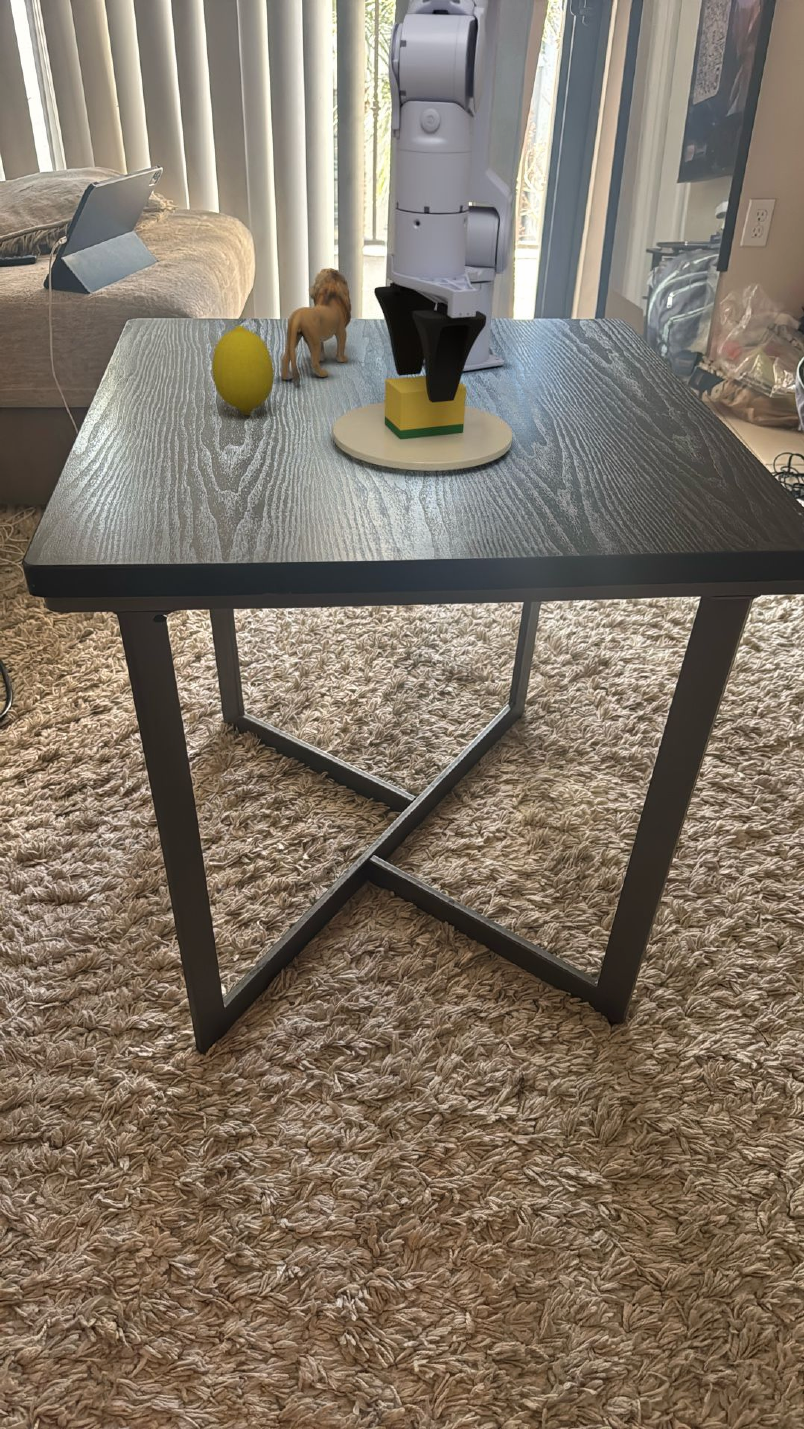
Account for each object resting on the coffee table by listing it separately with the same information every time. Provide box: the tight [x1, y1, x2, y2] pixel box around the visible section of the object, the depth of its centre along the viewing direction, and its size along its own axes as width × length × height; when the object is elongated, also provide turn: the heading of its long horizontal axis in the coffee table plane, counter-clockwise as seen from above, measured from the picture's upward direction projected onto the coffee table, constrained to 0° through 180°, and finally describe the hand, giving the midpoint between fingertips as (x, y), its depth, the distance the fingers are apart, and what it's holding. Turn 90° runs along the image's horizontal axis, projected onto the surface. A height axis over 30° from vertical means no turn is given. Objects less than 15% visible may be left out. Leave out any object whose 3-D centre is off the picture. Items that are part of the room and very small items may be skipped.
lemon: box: [212, 325, 274, 416], centre depth 84 cm, size 6×6×8 cm
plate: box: [332, 401, 514, 472], centre depth 81 cm, size 16×16×1 cm
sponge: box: [384, 375, 467, 439], centre depth 80 cm, size 4×6×4 cm, turn 111°
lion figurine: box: [281, 267, 352, 384], centre depth 96 cm, size 15×5×9 cm, turn 168°
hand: (424, 386), depth 79 cm, fingers open, 7 cm apart
